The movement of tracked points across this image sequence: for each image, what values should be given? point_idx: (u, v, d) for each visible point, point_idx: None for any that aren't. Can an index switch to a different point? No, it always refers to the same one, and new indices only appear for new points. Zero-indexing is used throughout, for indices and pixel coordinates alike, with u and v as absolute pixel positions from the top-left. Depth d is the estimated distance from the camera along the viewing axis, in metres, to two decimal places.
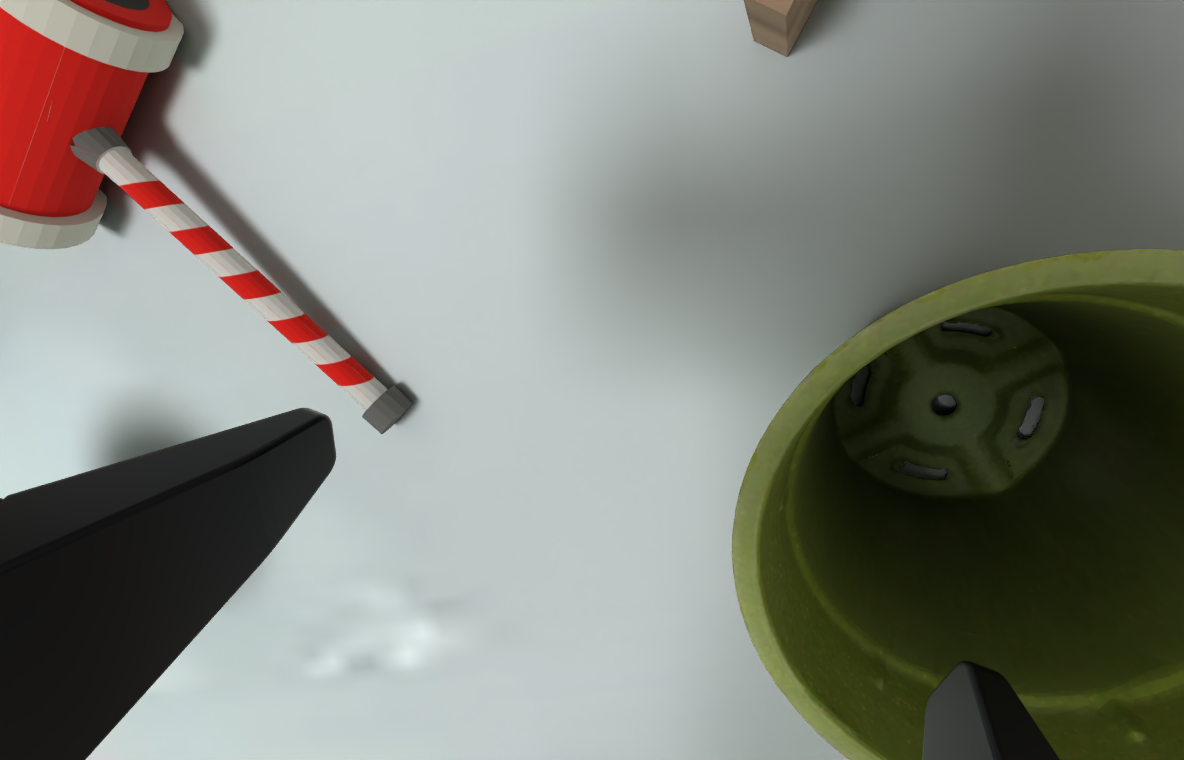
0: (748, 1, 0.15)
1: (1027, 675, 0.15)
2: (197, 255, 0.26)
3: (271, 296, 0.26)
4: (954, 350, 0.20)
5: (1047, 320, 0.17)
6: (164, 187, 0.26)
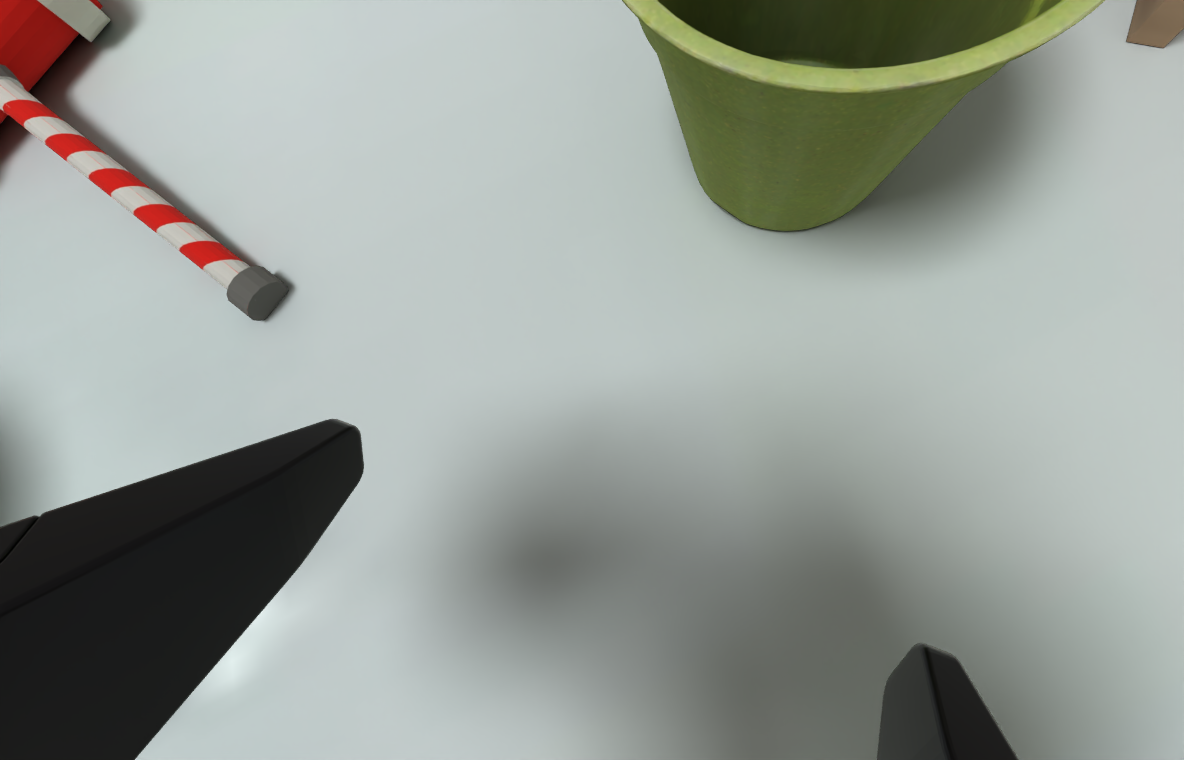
0: None
1: None
2: (70, 156, 0.26)
3: (144, 188, 0.25)
4: None
5: (831, 20, 0.22)
6: (52, 112, 0.27)
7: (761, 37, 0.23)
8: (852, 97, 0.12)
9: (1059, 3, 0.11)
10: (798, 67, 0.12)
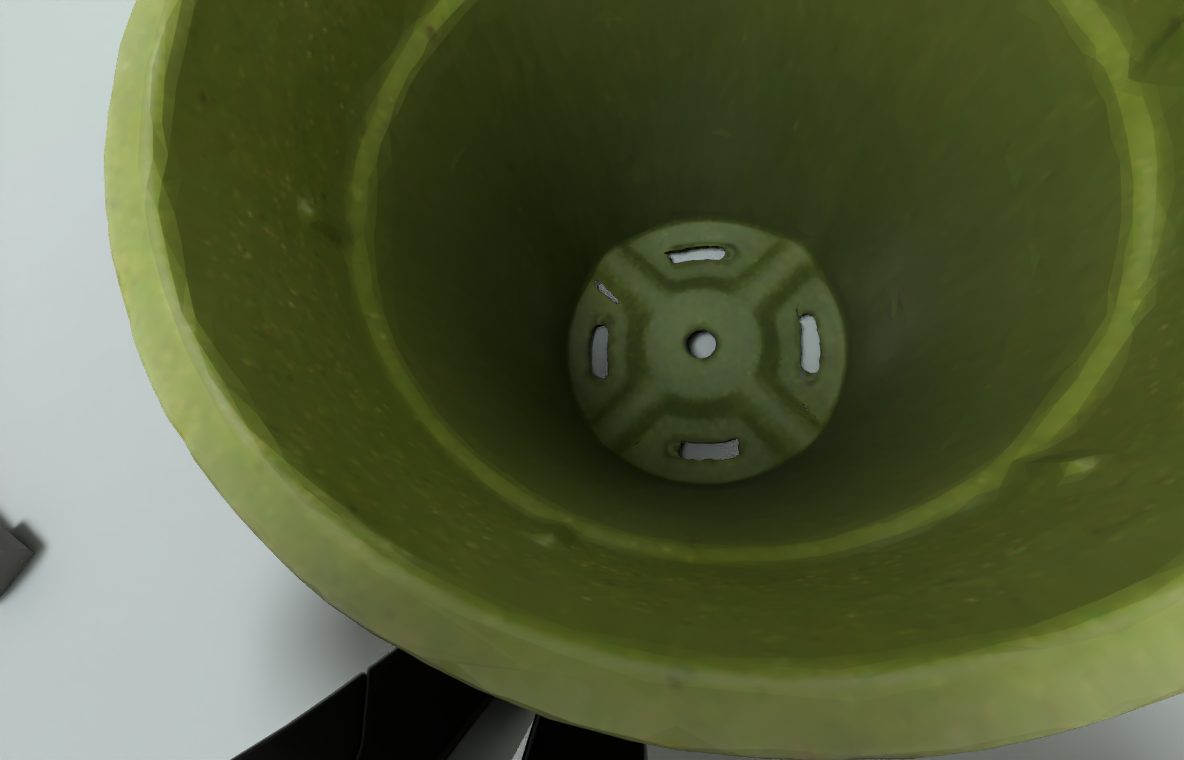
0: None
1: (865, 512, 0.07)
2: None
3: None
4: (692, 278, 0.16)
5: (758, 180, 0.14)
6: None
7: (660, 195, 0.15)
8: None
9: None
10: (519, 644, 0.04)
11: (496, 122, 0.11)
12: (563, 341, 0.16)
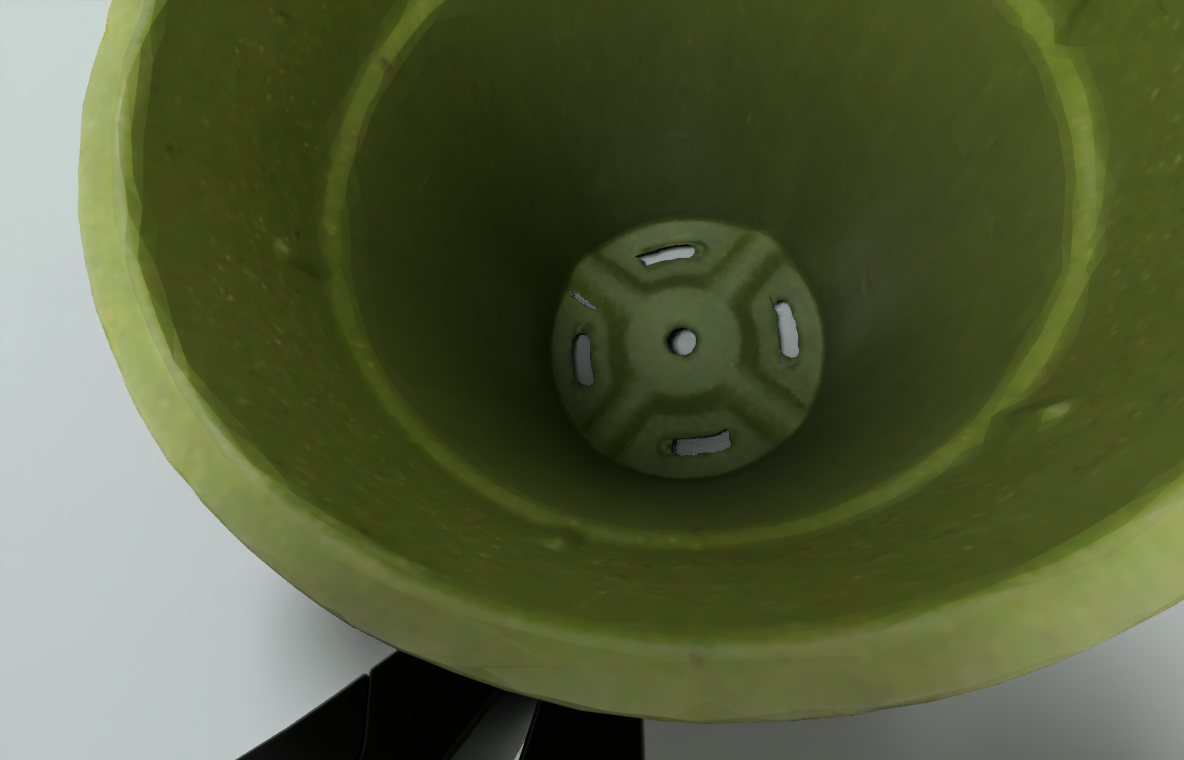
0: None
1: (859, 482, 0.07)
2: None
3: None
4: (666, 278, 0.16)
5: (719, 175, 0.15)
6: None
7: (625, 200, 0.16)
8: None
9: None
10: (542, 642, 0.04)
11: (458, 145, 0.11)
12: (546, 353, 0.16)
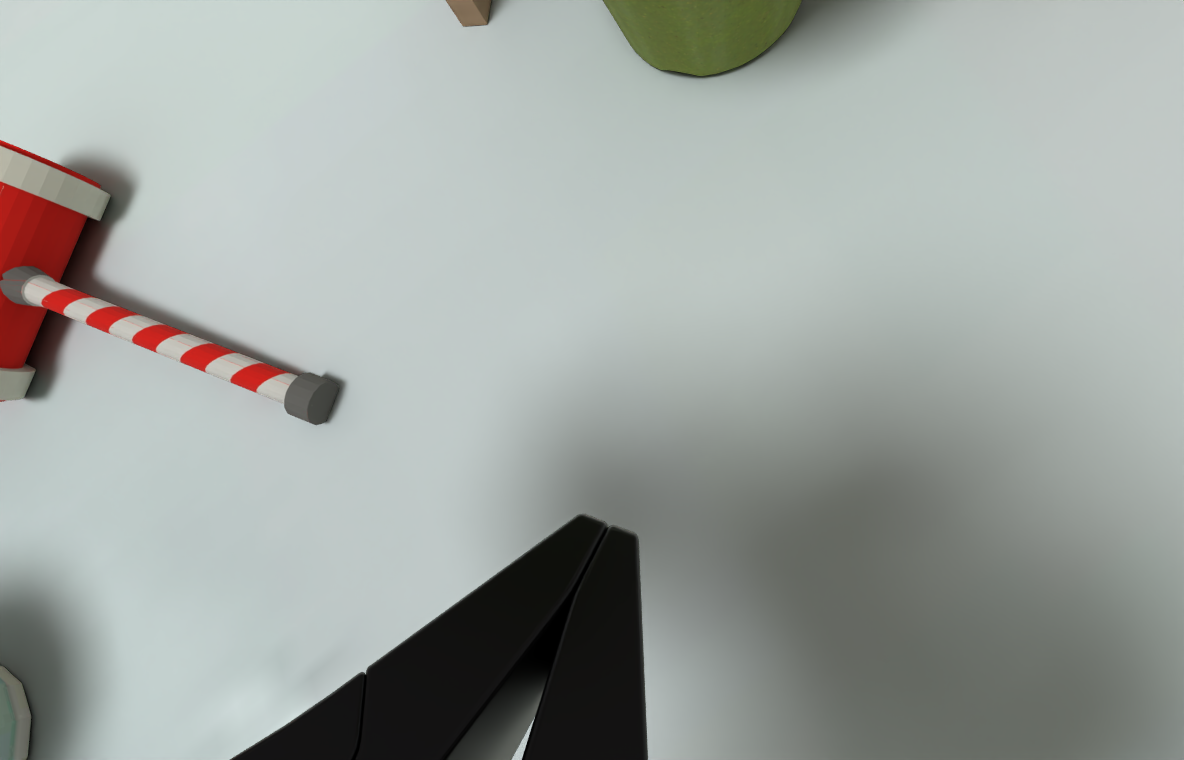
0: None
1: None
2: (111, 327, 0.27)
3: (183, 334, 0.27)
4: None
5: None
6: (84, 293, 0.28)
7: None
8: None
9: None
10: None
11: None
12: None
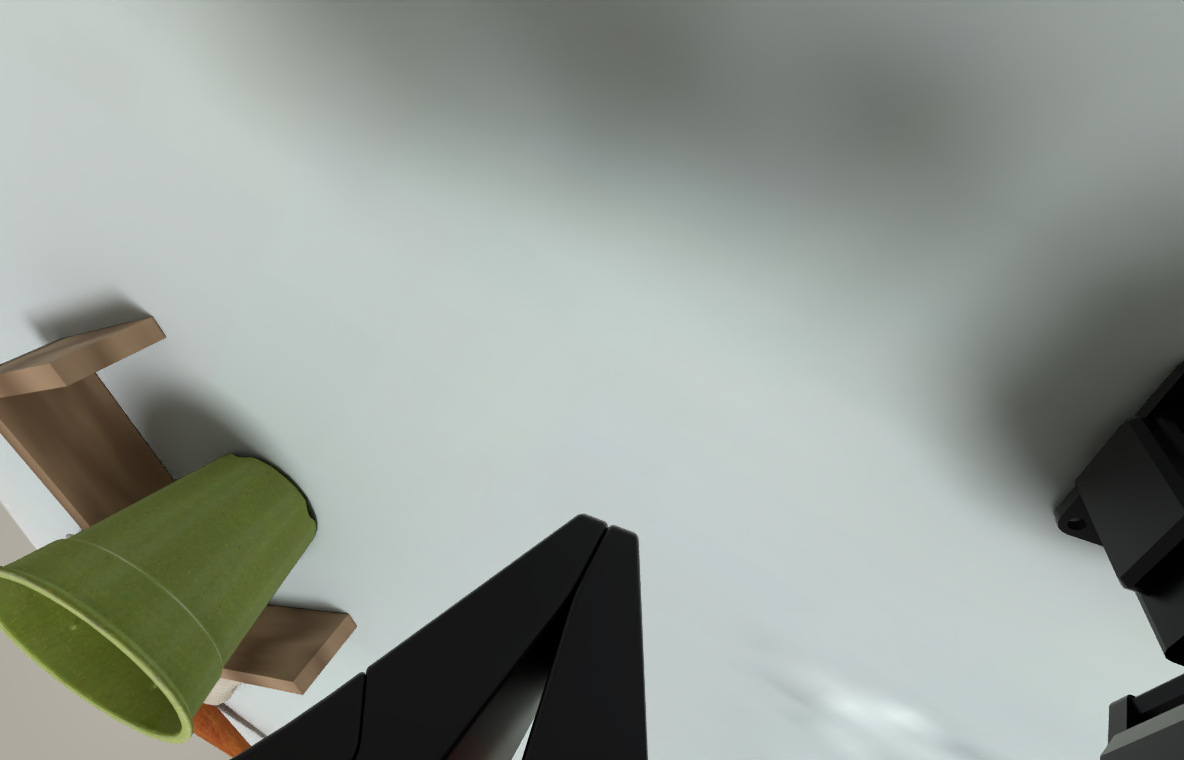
0: (305, 688, 0.37)
1: None
2: None
3: None
4: None
5: None
6: None
7: None
8: (130, 620, 0.25)
9: None
10: (131, 660, 0.25)
11: None
12: None
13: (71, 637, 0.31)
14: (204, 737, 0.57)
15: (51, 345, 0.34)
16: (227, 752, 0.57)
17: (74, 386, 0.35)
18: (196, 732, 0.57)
